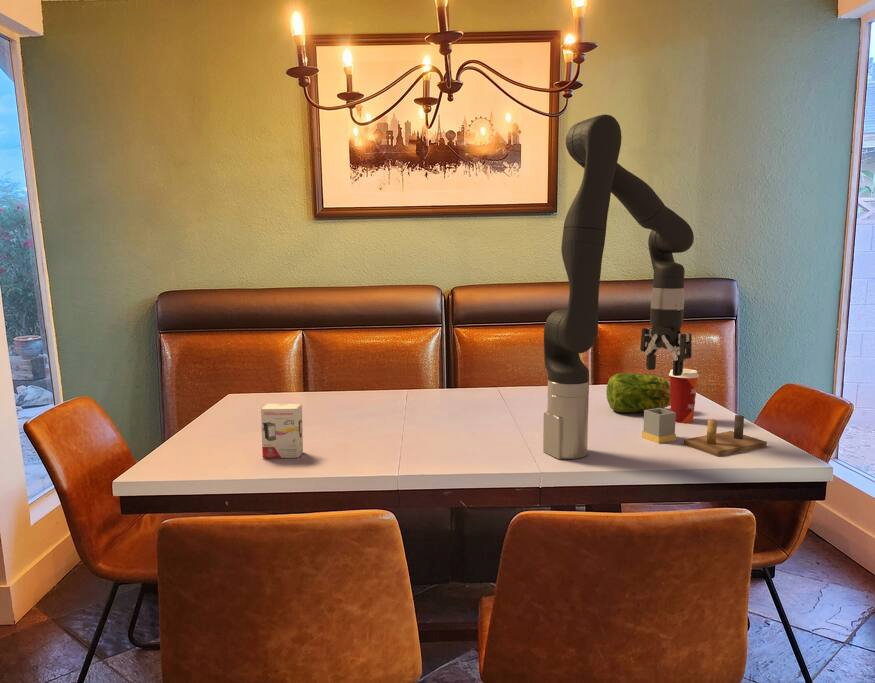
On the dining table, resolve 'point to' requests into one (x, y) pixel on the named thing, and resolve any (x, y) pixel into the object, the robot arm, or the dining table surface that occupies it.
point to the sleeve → (659, 425)
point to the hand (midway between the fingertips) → (663, 372)
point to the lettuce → (637, 392)
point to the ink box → (282, 430)
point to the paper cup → (683, 394)
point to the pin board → (725, 439)
